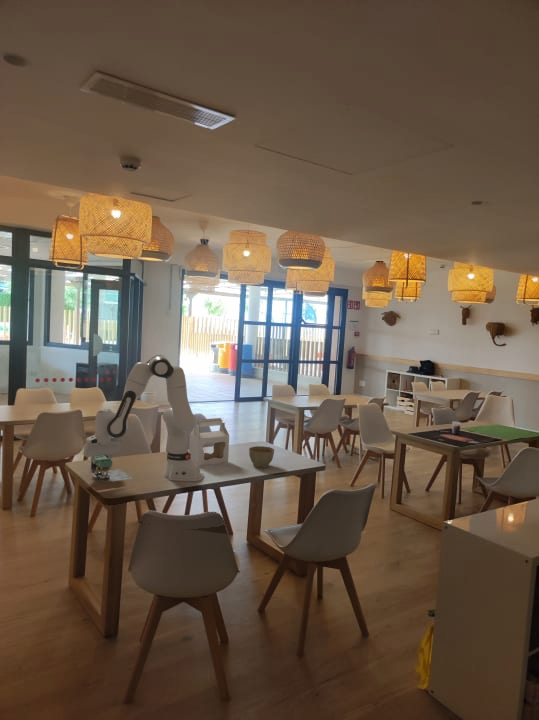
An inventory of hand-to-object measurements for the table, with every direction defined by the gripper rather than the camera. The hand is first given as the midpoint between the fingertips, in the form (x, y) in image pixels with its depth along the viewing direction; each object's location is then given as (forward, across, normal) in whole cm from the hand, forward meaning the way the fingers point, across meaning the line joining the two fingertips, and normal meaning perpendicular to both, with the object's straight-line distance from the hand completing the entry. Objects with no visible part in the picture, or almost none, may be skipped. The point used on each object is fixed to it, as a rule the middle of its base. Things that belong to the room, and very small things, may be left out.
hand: (102, 462), depth 287 cm
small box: (+9, -6, -19) cm, 22 cm away
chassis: (+8, -5, +2) cm, 10 cm away
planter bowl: (+8, -95, +21) cm, 98 cm away
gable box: (+8, -70, -3) cm, 71 cm away
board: (+1, 0, 0) cm, 1 cm away
